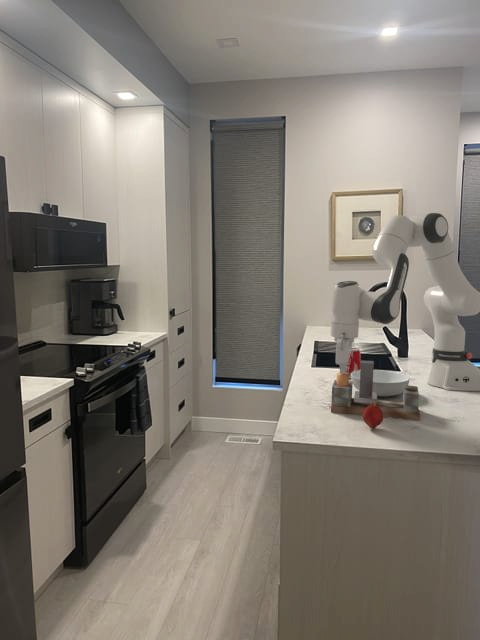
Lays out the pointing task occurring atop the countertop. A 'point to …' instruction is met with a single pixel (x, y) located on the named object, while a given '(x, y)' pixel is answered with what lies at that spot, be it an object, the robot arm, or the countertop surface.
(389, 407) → the rail deck
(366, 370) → the carriage
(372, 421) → the onion
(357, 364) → the soda can
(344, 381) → the gauge button
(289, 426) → the countertop surface
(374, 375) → the serving bowl
